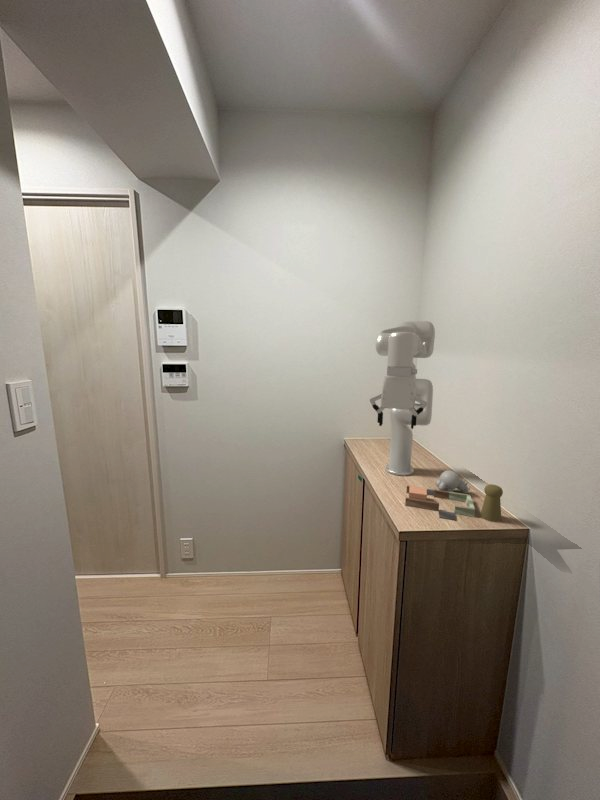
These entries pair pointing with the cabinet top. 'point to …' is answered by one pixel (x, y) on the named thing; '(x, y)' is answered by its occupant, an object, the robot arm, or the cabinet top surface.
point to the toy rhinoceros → (451, 482)
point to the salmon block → (418, 493)
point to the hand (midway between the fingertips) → (396, 426)
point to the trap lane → (446, 495)
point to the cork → (492, 503)
